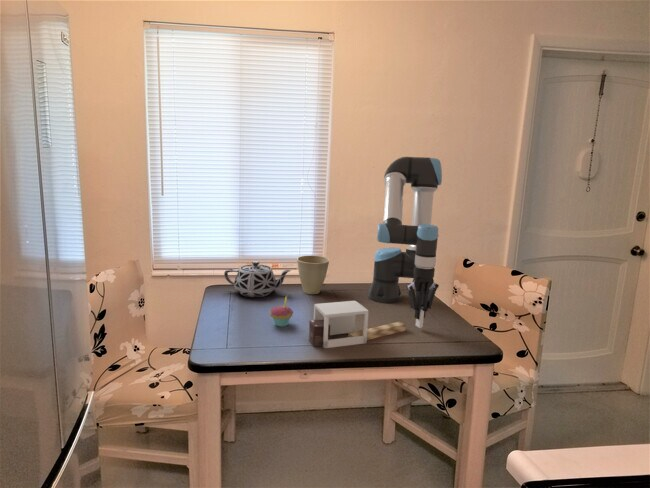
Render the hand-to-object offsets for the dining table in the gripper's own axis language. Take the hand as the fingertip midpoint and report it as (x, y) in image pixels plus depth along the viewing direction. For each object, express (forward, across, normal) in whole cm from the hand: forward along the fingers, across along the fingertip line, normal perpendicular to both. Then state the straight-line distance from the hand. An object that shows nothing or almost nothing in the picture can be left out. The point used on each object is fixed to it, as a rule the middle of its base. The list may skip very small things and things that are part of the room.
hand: (419, 326), depth 174 cm
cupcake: (+2, +49, -19) cm, 53 cm away
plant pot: (+2, +24, -54) cm, 59 cm away
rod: (+2, +18, 0) cm, 18 cm away
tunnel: (+2, +33, 0) cm, 33 cm away
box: (+2, +41, +1) cm, 41 cm away
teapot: (+2, +49, -58) cm, 76 cm away
